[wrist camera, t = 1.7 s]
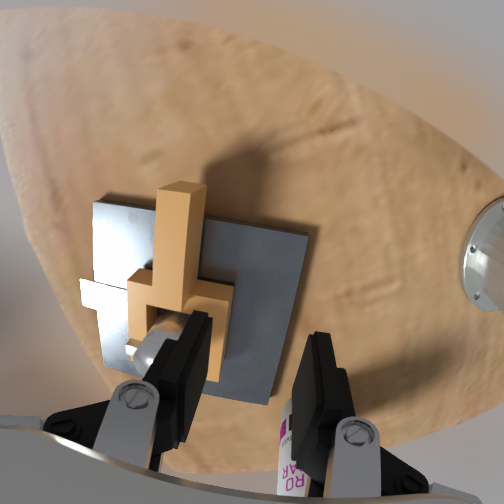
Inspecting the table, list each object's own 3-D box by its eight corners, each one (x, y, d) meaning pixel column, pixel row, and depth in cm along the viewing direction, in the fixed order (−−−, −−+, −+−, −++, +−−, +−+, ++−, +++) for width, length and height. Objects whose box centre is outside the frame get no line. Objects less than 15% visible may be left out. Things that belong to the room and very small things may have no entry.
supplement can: (319, 436, 36) (324, 533, 22) (268, 414, 35) (257, 520, 21) (362, 401, 33) (383, 506, 19) (309, 375, 32) (315, 494, 18)
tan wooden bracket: (248, 190, 25) (239, 201, 20) (223, 363, 31) (214, 397, 26) (144, 176, 25) (116, 184, 21) (141, 344, 31) (122, 373, 27)
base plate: (307, 232, 27) (317, 272, 19) (267, 398, 34) (262, 459, 26) (85, 197, 28) (25, 219, 20) (96, 356, 35) (61, 401, 27)
